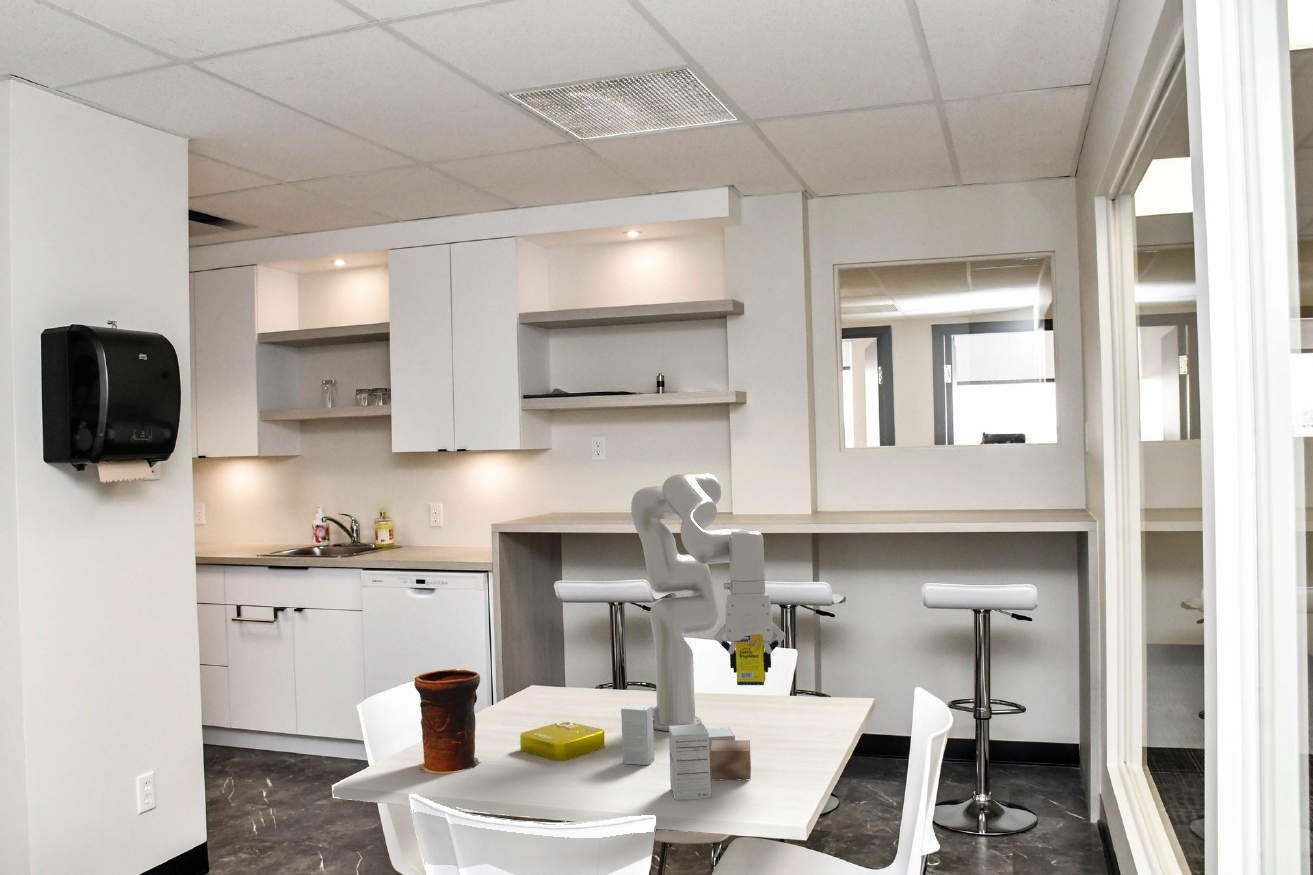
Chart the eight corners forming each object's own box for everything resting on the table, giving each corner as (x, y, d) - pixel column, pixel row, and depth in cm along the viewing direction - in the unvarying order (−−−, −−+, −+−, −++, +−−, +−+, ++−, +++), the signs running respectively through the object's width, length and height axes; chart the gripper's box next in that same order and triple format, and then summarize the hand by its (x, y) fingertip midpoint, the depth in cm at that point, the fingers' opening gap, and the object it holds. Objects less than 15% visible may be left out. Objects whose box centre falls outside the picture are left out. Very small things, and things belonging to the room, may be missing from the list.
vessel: (409, 760, 225) (409, 671, 226) (471, 753, 231) (471, 666, 232) (420, 778, 212) (420, 683, 213) (486, 769, 218) (486, 677, 218)
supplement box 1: (670, 788, 200) (668, 725, 201) (706, 786, 201) (704, 723, 201) (673, 800, 193) (671, 734, 193) (711, 798, 194) (709, 732, 194)
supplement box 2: (764, 685, 213) (762, 634, 213) (736, 685, 214) (734, 634, 214) (766, 679, 219) (764, 629, 219) (738, 679, 220) (737, 629, 220)
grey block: (703, 765, 215) (702, 737, 216) (699, 756, 222) (698, 729, 223) (735, 763, 216) (734, 735, 216) (730, 754, 223) (729, 727, 223)
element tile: (516, 752, 231) (516, 731, 231) (565, 737, 242) (564, 718, 242) (560, 764, 221) (559, 742, 221) (608, 748, 232) (608, 727, 232)
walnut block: (711, 780, 205) (710, 750, 205) (713, 768, 213) (712, 740, 213) (750, 780, 204) (749, 750, 204) (750, 768, 212) (749, 740, 212)
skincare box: (654, 760, 220) (653, 705, 220) (648, 765, 216) (646, 710, 216) (629, 758, 222) (627, 704, 222) (622, 763, 218) (620, 708, 218)
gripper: (707, 590, 214) (710, 675, 214) (788, 589, 212) (791, 674, 212) (709, 586, 222) (712, 668, 221) (787, 585, 220) (790, 667, 219)
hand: (750, 670), depth 217 cm, fingers closed on supplement box 2, 6 cm apart
